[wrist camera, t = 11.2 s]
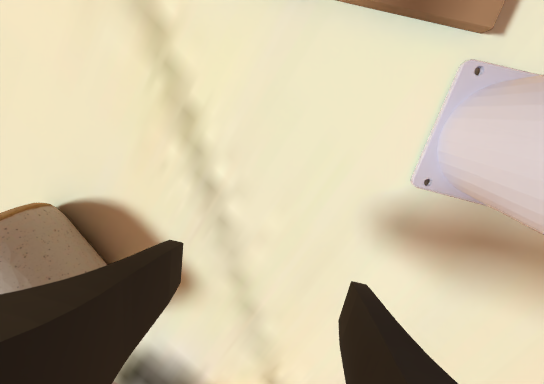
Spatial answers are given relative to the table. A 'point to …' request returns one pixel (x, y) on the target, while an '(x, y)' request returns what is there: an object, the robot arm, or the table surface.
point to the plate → (442, 11)
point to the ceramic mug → (41, 248)
